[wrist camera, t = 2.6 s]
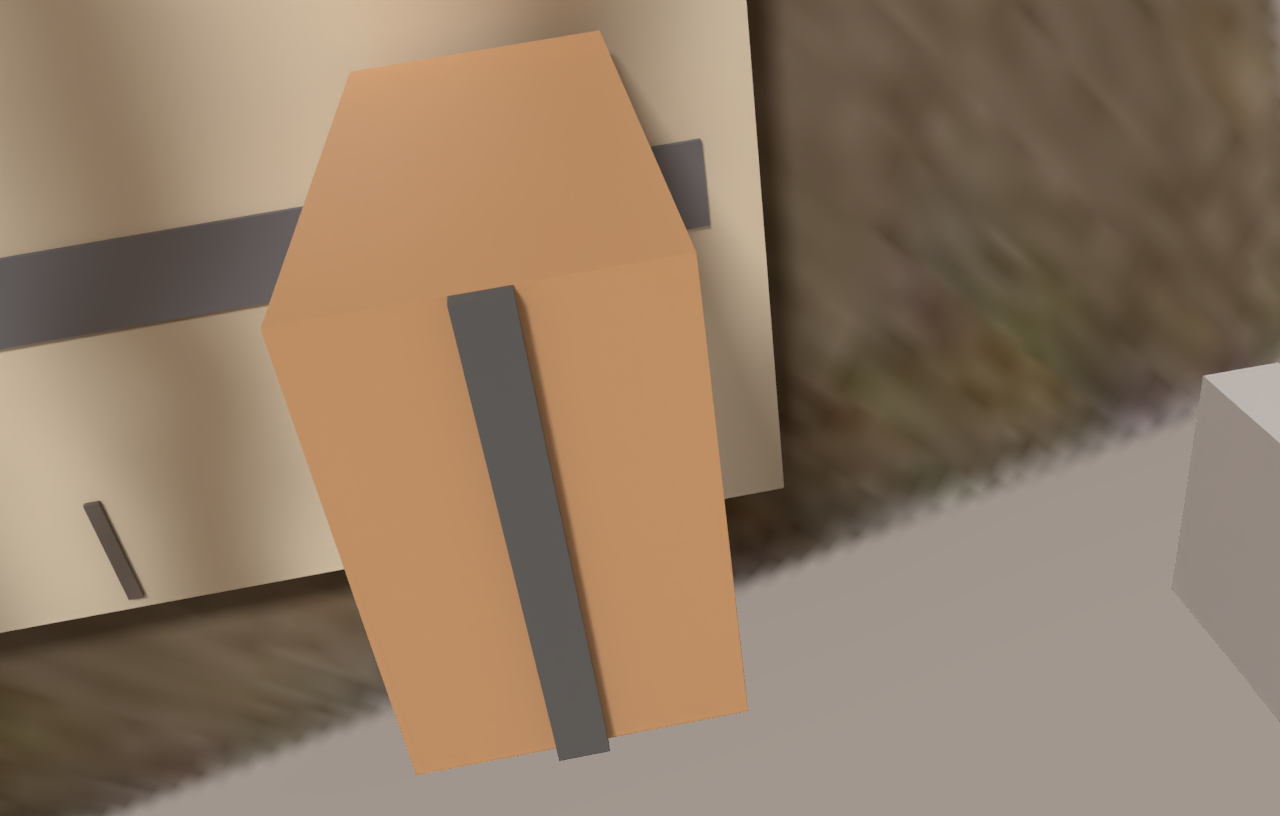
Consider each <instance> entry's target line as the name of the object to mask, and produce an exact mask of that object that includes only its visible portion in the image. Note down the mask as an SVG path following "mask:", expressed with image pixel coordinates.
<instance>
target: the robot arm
mask: <svg viewBox="0 0 1280 816" xmlns="http://www.w3.org/2000/svg"><path fill="white" fill-rule="evenodd" d="M1172 589H1173V590H1174V592H1175V593H1176V594H1177V595H1178V597H1179V598H1180V599H1181V600H1182V602H1183V603H1184V604H1185V605H1186V607H1187V608H1188V609H1189V610H1190V612H1191V613H1192V614H1193V615H1194V616H1195V618H1196V619H1197V620H1198V621H1199V623H1200V624H1201V625H1202V626H1203V628H1204V629H1205V630H1206V631H1207V632H1208V634H1209V635H1210V636H1211V637H1212V639H1213V640H1214V641H1215V642H1216V644H1217V645H1218V646H1219V647H1220V649H1221V650H1222V651H1223V652H1224V653H1225V654H1226V656H1227V657H1228V658H1229V660H1230V661H1231V662H1232V663H1233V664H1234V666H1235V667H1236V668H1237V669H1238V671H1239V672H1240V673H1241V674H1242V676H1243V677H1244V678H1245V679H1246V681H1247V682H1248V683H1249V684H1250V685H1251V687H1252V688H1253V689H1254V690H1255V691H1256V693H1257V694H1258V695H1259V696H1260V698H1261V699H1262V700H1263V701H1264V703H1265V704H1266V705H1267V706H1268V708H1269V709H1270V710H1271V711H1272V713H1273V714H1274V715H1275V716H1276V717H1277V719H1278V720H1279V721H1280V364H1279V363H1273V364H1268V365H1262V366H1256V367H1251V368H1245V369H1239V370H1234V371H1228V372H1222V373H1217V374H1211V375H1205V376H1203V381H1202V388H1201V395H1200V401H1199V408H1198V415H1197V422H1196V428H1195V435H1194V442H1193V449H1192V455H1191V462H1190V469H1189V476H1188V482H1187V489H1186V496H1185V503H1184V510H1183V516H1182V523H1181V530H1180V537H1179V543H1178V550H1177V558H1176V564H1175V570H1174V577H1173V584H1172Z"/></svg>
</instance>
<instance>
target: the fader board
mask: <svg viewBox="0 0 1280 816" xmlns="http://www.w3.org/2000/svg"><path fill="white" fill-rule="evenodd" d="M598 30H599V31H600V33H601V35H602V37H603V40H604V42H605V44H606V47H607V49H608V51H609V53H610V56H611V58H612V60H613V63H614V65H615V67H616V69H617V72H618V74H619V76H620V79H621V81H622V83H623V85H624V88H625V90H626V92H627V95H628V97H629V99H630V101H631V104H632V106H633V108H634V111H635V113H636V115H637V118H638V120H639V122H640V124H641V127H642V129H643V131H644V134H645V136H646V138H647V140H648V143H649V145H650V147H651V150H652V152H653V154H654V156H655V159H656V161H657V163H658V166H659V168H660V170H661V172H662V175H663V177H664V179H665V182H666V184H667V186H668V188H669V191H670V193H671V195H672V198H673V200H674V202H675V205H676V207H677V209H678V211H679V214H680V216H681V218H682V221H683V223H684V225H685V227H686V230H687V232H688V234H689V237H690V239H691V241H692V243H693V246H694V248H695V250H696V253H697V262H698V271H699V280H700V288H701V297H702V306H703V315H704V324H705V333H706V342H707V351H708V359H709V368H710V377H711V386H712V395H713V404H714V413H715V421H716V430H717V439H718V448H719V457H720V466H721V475H722V484H723V492H724V499H727V498H732V497H737V496H743V495H748V494H754V493H759V492H764V491H770V490H775V489H781V488H784V480H783V467H782V454H781V441H780V429H779V416H778V403H777V390H776V377H775V364H774V351H773V338H772V325H771V312H770V299H769V286H768V273H767V260H766V247H765V234H764V221H763V208H762V195H761V182H760V169H759V157H758V144H757V131H756V118H755V105H754V92H753V79H752V66H751V53H750V40H749V27H748V14H747V1H746V0H0V633H2V632H8V631H13V630H19V629H24V628H29V627H35V626H40V625H46V624H51V623H56V622H62V621H67V620H73V619H78V618H83V617H89V616H94V615H100V614H105V613H111V612H116V611H121V610H127V609H132V608H138V607H143V606H148V605H154V604H159V603H165V602H170V601H175V600H181V599H186V598H192V597H197V596H202V595H208V594H213V593H219V592H224V591H229V590H235V589H240V588H246V587H251V586H256V585H262V584H267V583H273V582H278V581H283V580H289V579H294V578H300V577H305V576H310V575H316V574H321V573H327V572H332V571H337V570H343V569H344V567H343V564H342V561H341V558H340V555H339V553H338V550H337V547H336V544H335V541H334V538H333V535H332V533H331V530H330V527H329V524H328V521H327V518H326V515H325V513H324V510H323V507H322V504H321V501H320V498H319V495H318V493H317V490H316V487H315V484H314V481H313V478H312V475H311V472H310V470H309V467H308V464H307V461H306V458H305V455H304V452H303V450H302V447H301V444H300V441H299V438H298V435H297V432H296V430H295V427H294V424H293V421H292V418H291V415H290V412H289V410H288V407H287V404H286V401H285V398H284V395H283V392H282V390H281V387H280V384H279V381H278V378H277V375H276V372H275V369H274V367H273V364H272V361H271V358H270V355H269V352H268V349H267V347H266V344H265V341H264V338H263V335H262V332H261V329H260V328H261V326H262V323H263V320H264V317H265V314H266V311H267V308H268V305H269V303H270V300H271V297H272V294H273V291H274V288H275V285H276V283H277V280H278V277H279V274H280V271H281V268H282V265H283V262H284V260H285V257H286V254H287V251H288V248H289V245H290V242H291V240H292V237H293V234H294V231H295V228H296V225H297V222H298V219H299V217H300V214H301V211H302V208H303V205H304V202H305V199H306V196H307V194H308V191H309V188H310V185H311V182H312V179H313V176H314V174H315V171H316V168H317V165H318V162H319V159H320V156H321V153H322V151H323V148H324V145H325V142H326V139H327V136H328V133H329V130H330V128H331V125H332V122H333V119H334V116H335V113H336V110H337V108H338V105H339V102H340V99H341V96H342V93H343V90H344V87H345V85H346V82H347V79H348V76H349V73H350V72H351V71H357V70H363V69H369V68H375V67H381V66H387V65H393V64H399V63H405V62H411V61H417V60H423V59H429V58H435V57H441V56H447V55H453V54H459V53H465V52H471V51H477V50H483V49H489V48H495V47H501V46H507V45H513V44H520V43H526V42H532V41H538V40H544V39H550V38H556V37H562V36H568V35H574V34H580V33H586V32H592V31H598Z"/></svg>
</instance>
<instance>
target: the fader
mask: <svg viewBox="0 0 1280 816" xmlns="http://www.w3.org/2000/svg"><path fill="white" fill-rule="evenodd" d="M260 329H261V332H262V335H263V338H264V341H265V344H266V347H267V349H268V352H269V355H270V358H271V361H272V364H273V367H274V369H275V372H276V375H277V378H278V381H279V384H280V387H281V390H282V392H283V395H284V398H285V401H286V404H287V407H288V410H289V412H290V415H291V418H292V421H293V424H294V427H295V430H296V432H297V435H298V438H299V441H300V444H301V447H302V450H303V452H304V455H305V458H306V461H307V464H308V467H309V470H310V472H311V475H312V478H313V481H314V484H315V487H316V490H317V493H318V495H319V498H320V501H321V504H322V507H323V510H324V513H325V515H326V518H327V521H328V524H329V527H330V530H331V533H332V535H333V538H334V541H335V544H336V547H337V550H338V553H339V555H340V558H341V561H342V564H343V567H344V570H345V573H346V576H347V578H348V581H349V584H350V587H351V590H352V593H353V596H354V598H355V601H356V604H357V607H358V610H359V613H360V616H361V618H362V621H363V624H364V627H365V630H366V633H367V636H368V638H369V641H370V644H371V647H372V650H373V653H374V656H375V659H376V661H377V664H378V667H379V670H380V673H381V676H382V679H383V681H384V684H385V687H386V690H387V693H388V696H389V699H390V701H391V704H392V707H393V710H394V713H395V716H396V719H397V721H398V724H399V727H400V730H401V733H402V736H403V739H404V741H405V744H406V747H407V750H408V753H409V756H410V759H411V762H412V764H413V767H414V770H415V773H416V775H420V774H425V773H430V772H435V771H441V770H445V769H451V768H456V767H461V766H467V765H472V764H477V763H482V762H487V761H492V760H498V759H503V758H507V757H512V756H518V755H523V754H528V753H534V752H539V751H544V750H549V749H554V748H556V749H557V753H558V757H559V761H561V760H566V759H572V758H577V757H582V756H587V755H592V754H597V753H603V752H607V751H610V748H609V741H608V738H611V737H617V736H622V735H627V734H632V733H637V732H642V731H647V730H652V729H658V728H663V727H668V726H673V725H678V724H684V723H689V722H694V721H699V720H704V719H710V718H715V717H720V716H725V715H730V714H735V713H741V712H745V711H748V706H747V697H746V688H745V679H744V670H743V661H742V653H741V644H740V634H739V626H738V617H737V608H736V599H735V590H734V581H733V572H732V563H731V555H730V546H729V537H728V528H727V519H726V510H725V501H724V492H723V484H722V475H721V466H720V457H719V448H718V439H717V430H716V421H715V413H714V404H713V395H712V386H711V377H710V368H709V359H708V351H707V342H706V333H705V324H704V315H703V306H702V297H701V288H700V280H699V271H698V262H697V253H696V250H695V248H694V246H693V243H692V241H691V239H690V237H689V234H688V232H687V230H686V227H685V225H684V223H683V221H682V218H681V216H680V214H679V211H678V209H677V207H676V205H675V202H674V200H673V198H672V195H671V193H670V191H669V188H668V186H667V184H666V182H665V179H664V177H663V175H662V172H661V170H660V168H659V166H658V163H657V161H656V159H655V156H654V154H653V152H652V150H651V147H650V145H649V143H648V140H647V138H646V136H645V134H644V131H643V129H642V127H641V124H640V122H639V120H638V118H637V115H636V113H635V111H634V108H633V106H632V104H631V101H630V99H629V97H628V95H627V92H626V90H625V88H624V85H623V83H622V81H621V79H620V76H619V74H618V72H617V69H616V67H615V65H614V63H613V60H612V58H611V56H610V53H609V51H608V49H607V47H606V44H605V42H604V40H603V37H602V35H601V33H600V31H599V30H598V31H592V32H586V33H580V34H574V35H568V36H562V37H556V38H550V39H544V40H538V41H532V42H526V43H520V44H513V45H507V46H501V47H495V48H489V49H483V50H477V51H471V52H465V53H459V54H453V55H447V56H441V57H435V58H429V59H423V60H417V61H411V62H405V63H399V64H393V65H387V66H381V67H375V68H369V69H363V70H357V71H351V72H350V73H349V76H348V79H347V82H346V85H345V87H344V90H343V93H342V96H341V99H340V102H339V105H338V108H337V110H336V113H335V116H334V119H333V122H332V125H331V128H330V130H329V133H328V136H327V139H326V142H325V145H324V148H323V151H322V153H321V156H320V159H319V162H318V165H317V168H316V171H315V174H314V176H313V179H312V182H311V185H310V188H309V191H308V194H307V196H306V199H305V202H304V205H303V208H302V211H301V214H300V217H299V219H298V222H297V225H296V228H295V231H294V234H293V237H292V240H291V242H290V245H289V248H288V251H287V254H286V257H285V260H284V262H283V265H282V268H281V271H280V274H279V277H278V280H277V283H276V285H275V288H274V291H273V294H272V297H271V300H270V303H269V305H268V308H267V311H266V314H265V317H264V320H263V323H262V326H261V328H260Z"/></svg>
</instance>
